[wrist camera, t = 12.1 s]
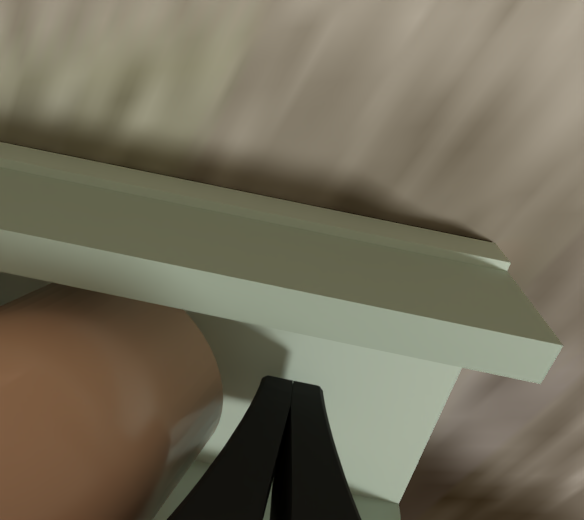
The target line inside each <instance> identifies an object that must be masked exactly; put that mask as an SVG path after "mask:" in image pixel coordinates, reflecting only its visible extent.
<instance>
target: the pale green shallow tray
mask: <svg viewBox="0 0 584 520" xmlns="http://www.w3.org/2000/svg"><path fill="white" fill-rule="evenodd" d="M510 264H511V262H510V261H509V260H508V259H507V257H506V256H505V255H504V254H503V252H502V251H501V250H500V249H499V247H498V246H497V245H496V244H495V243H492V242H487V241H482V240H478V239H473V238H468V237H463V236H458V235H453V234H448V233H443V232H438V231H434V230H429V229H424V228H419V227H414V226H409V225H404V224H399V223H394V222H390V221H385V220H380V219H375V218H370V217H365V216H360V215H355V214H350V213H346V212H341V211H336V210H331V209H326V208H321V207H316V206H311V205H306V204H302V203H297V202H292V201H287V200H282V199H277V198H272V197H267V196H262V195H258V194H253V193H248V192H243V191H238V190H233V189H228V188H223V187H218V186H214V185H209V184H204V183H199V182H194V181H189V180H184V179H179V178H174V177H170V176H165V175H160V174H155V173H150V172H145V171H140V170H135V169H130V168H126V167H121V166H116V165H111V164H106V163H101V162H96V161H91V160H87V159H82V158H77V157H72V156H67V155H62V154H57V153H52V152H47V151H43V150H38V149H33V148H28V147H23V146H18V145H13V144H8V143H3V142H0V306H2V305H4V304H6V303H8V302H10V301H13V300H15V299H17V298H19V297H22V296H24V295H26V294H28V293H30V292H33V291H35V290H37V289H39V288H41V287H44V286H46V285H48V284H50V283H52V282H53V283H58V284H62V285H67V286H72V287H77V288H82V289H86V290H91V291H96V292H101V293H106V294H111V295H115V296H120V297H125V298H130V299H135V300H139V301H144V302H149V303H154V304H159V305H163V306H168V307H173V308H178V309H183V310H184V311H185V312H186V313H187V314H188V315H189V317H190V318H191V319H192V320H193V321H194V323H195V324H196V325H197V327H198V328H199V329H200V331H201V332H202V334H203V335H204V337H205V339H206V341H207V342H208V344H209V346H210V348H211V350H212V352H213V355H214V357H215V359H216V362H217V365H218V368H219V372H220V375H221V381H222V386H223V407H222V414H221V417H220V421H219V424H218V426H217V428H216V430H215V432H214V434H213V435H212V436H211V438H210V439H209V441H208V442H207V443H206V445H205V446H204V448H203V449H202V450H201V452H200V453H199V455H198V456H197V458H196V459H195V460H194V462H193V463H192V465H191V466H190V467H189V469H188V470H187V472H186V473H185V475H184V476H183V477H182V479H181V480H180V482H179V483H178V484H177V486H176V487H175V489H174V490H173V491H172V493H171V494H170V496H169V497H168V499H167V500H166V501H165V503H164V504H163V506H162V507H161V508H160V510H159V511H158V513H157V514H156V515H155V517H154V518H153V520H167V518H168V517H169V516H170V515H171V514H172V513H173V511H174V510H175V509H176V508H177V507H178V506H179V505H180V503H181V502H182V501H183V500H184V498H185V497H186V496H187V495H188V494H189V492H190V491H191V490H192V489H193V487H194V486H195V485H196V484H197V482H198V481H199V480H200V479H201V477H202V476H203V475H204V473H205V472H206V470H207V469H208V468H209V466H210V465H211V464H212V462H213V461H214V460H215V458H216V457H217V456H218V454H219V453H220V452H221V450H222V449H223V447H224V446H225V444H226V443H227V441H228V440H229V438H230V437H231V435H232V434H233V432H234V431H235V429H236V427H237V426H238V424H239V423H240V421H241V420H242V418H243V416H244V415H245V413H246V411H247V409H248V408H249V406H250V404H251V402H252V400H253V398H254V396H255V394H256V392H257V390H258V388H259V385H260V382H261V379H262V378H263V377H265V376H267V375H269V376H274V377H279V378H283V379H288V380H293V381H298V382H303V383H308V384H313V385H318V386H320V387H321V389H322V390H323V395H324V401H325V407H326V411H327V416H328V420H329V424H330V428H331V432H332V436H333V439H334V443H335V446H336V449H337V453H338V456H339V459H340V462H341V465H342V468H343V471H344V474H345V477H346V480H347V483H348V486H349V488H350V491H351V494H352V496H353V499H354V502H355V504H356V507H357V509H358V512H359V514H360V517H361V520H401V518H400V510H399V502H400V500H401V498H402V496H403V494H404V491H405V489H406V487H407V485H408V483H409V481H410V478H411V476H412V474H413V472H414V470H415V468H416V466H417V463H418V461H419V459H420V457H421V455H422V453H423V451H424V448H425V446H426V444H427V442H428V440H429V438H430V436H431V433H432V431H433V429H434V427H435V425H436V423H437V420H438V418H439V416H440V414H441V412H442V410H443V408H444V405H445V403H446V401H447V399H448V397H449V395H450V393H451V390H452V388H453V386H454V384H455V382H456V380H457V377H458V375H459V373H460V371H461V369H462V368H466V369H471V370H476V371H481V372H485V373H490V374H495V375H500V376H505V377H510V378H514V379H519V380H524V381H529V382H534V383H538V384H541V383H542V381H543V379H544V378H545V376H546V374H547V372H548V371H549V369H550V367H551V366H552V364H553V362H554V361H555V359H556V357H557V355H558V354H559V352H560V350H561V349H562V347H563V344H562V343H561V342H560V341H559V339H558V338H557V337H556V335H555V334H554V333H553V331H552V330H551V329H550V327H549V326H548V325H547V323H546V322H545V321H544V319H543V318H542V317H541V315H540V314H539V313H538V311H537V310H536V309H535V308H534V306H533V305H532V304H531V302H530V301H529V300H528V298H527V297H526V296H525V294H524V293H523V292H522V290H521V289H520V288H519V286H518V285H517V284H516V282H515V281H514V280H513V278H512V277H511V276H510V274H509V273H508V272H507V270H508V268H509V266H510ZM272 484H273V482H272ZM271 495H272V486H271V490H270V494H269V498H268V502H267V506H266V510H265V514H264V518H263V520H270V508H271Z"/></svg>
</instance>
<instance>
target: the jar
mask: <svg viewBox="0 0 584 520" xmlns="http://www.w3.org/2000/svg"><path fill="white" fill-rule="evenodd" d="M222 407H223V386H222V381H221V375H220V372H219V368H218V365H217V362H216V359H215V357H214V355H213V352H212V350H211V348H210V346H209V344H208V342H207V341H206V339H205V337H204V335H203V334H202V332H201V331H200V329H199V328H198V327H197V325H196V324H195V323H194V321H193V320H192V319H191V318H190V317H189V315H188V314H187V313H186V312H185V311H184V310H183V309H178V308H173V307H168V306H163V305H159V304H154V303H149V302H144V301H139V300H135V299H130V298H125V297H120V296H115V295H111V294H106V293H101V292H96V291H91V290H86V289H82V288H77V287H72V286H67V285H62V284H58V283H53V282H52V283H50V284H48V285H46V286H44V287H41V288H39V289H37V290H35V291H33V292H30V293H28V294H26V295H24V296H22V297H19V298H17V299H15V300H13V301H10V302H8V303H6V304H4V305H2V306H0V520H153V518H154V517H155V515H156V514H157V513H158V511H159V510H160V508H161V507H162V506H163V504H164V503H165V501H166V500H167V499H168V497H169V496H170V494H171V493H172V491H173V490H174V489H175V487H176V486H177V484H178V483H179V482H180V480H181V479H182V477H183V476H184V475H185V473H186V472H187V470H188V469H189V467H190V466H191V465H192V463H193V462H194V460H195V459H196V458H197V456H198V455H199V453H200V452H201V450H202V449H203V448H204V446H205V445H206V443H207V442H208V441H209V439H210V438H211V436H212V435H213V434H214V432H215V430H216V428H217V426H218V424H219V421H220V417H221V414H222Z"/></svg>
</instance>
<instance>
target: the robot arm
mask: <svg viewBox="0 0 584 520" xmlns="http://www.w3.org/2000/svg"><path fill="white" fill-rule="evenodd" d="M272 482H273V484H272ZM271 486H272V495H271V508H270V520H361V517H360V514H359V512H358V509H357V507H356V504H355V502H354V499H353V496H352V494H351V491H350V488H349V486H348V483H347V480H346V477H345V474H344V471H343V468H342V465H341V462H340V459H339V456H338V453H337V449H336V446H335V443H334V439H333V436H332V432H331V428H330V424H329V420H328V416H327V411H326V407H325V401H324V395H323V390H322V389H321V387H320V386H318V385H313V384H308V383H303V382H298V381H293V380H288V379H283V378H279V377H274V376H269V375H267V376H265V377H263V378H262V379H261V382H260V385H259V388H258V390H257V392H256V394H255V396H254V398H253V400H252V402H251V404H250V406H249V408H248V409H247V411H246V413H245V415H244V416H243V418H242V420H241V421H240V423H239V424H238V426H237V427H236V429H235V431H234V432H233V434H232V435H231V437H230V438H229V440H228V441H227V443H226V444H225V446H224V447H223V449H222V450H221V452H220V453H219V454H218V456H217V457H216V458H215V460H214V461H213V462H212V464H211V465H210V466H209V468H208V469H207V470H206V472H205V473H204V475H203V476H202V477H201V479H200V480H199V481H198V482H197V484H196V485H195V486H194V487H193V489H192V490H191V491H190V492H189V494H188V495H187V496H186V497H185V498H184V500H183V501H182V502H181V503H180V505H179V506H178V507H177V508H176V509H175V510H174V511H173V513H172V514H171V515H170V516H169V517H168V518H167V520H263V518H264V514H265V510H266V506H267V502H268V498H269V494H270V490H271Z"/></svg>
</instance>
